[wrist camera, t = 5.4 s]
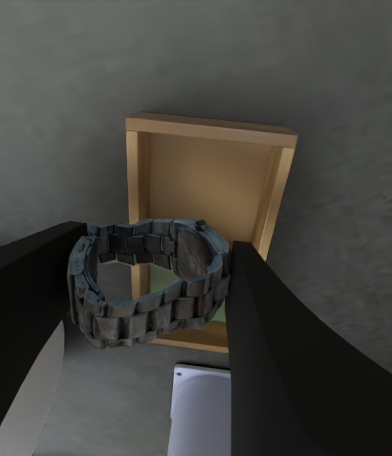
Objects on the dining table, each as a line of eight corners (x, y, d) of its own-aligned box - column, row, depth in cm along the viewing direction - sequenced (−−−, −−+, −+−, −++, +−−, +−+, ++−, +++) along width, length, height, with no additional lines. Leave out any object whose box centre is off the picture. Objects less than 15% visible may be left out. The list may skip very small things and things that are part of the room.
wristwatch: (164, 252, 13) (238, 315, 10) (47, 276, 10) (94, 384, 6) (172, 192, 12) (259, 239, 8) (42, 197, 9) (96, 277, 5)
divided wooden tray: (238, 323, 22) (241, 355, 20) (143, 311, 23) (133, 340, 20) (285, 126, 15) (299, 135, 12) (141, 111, 15) (125, 116, 12)
